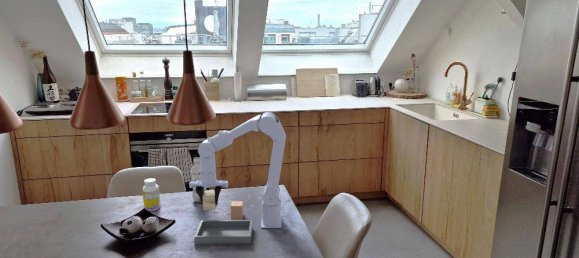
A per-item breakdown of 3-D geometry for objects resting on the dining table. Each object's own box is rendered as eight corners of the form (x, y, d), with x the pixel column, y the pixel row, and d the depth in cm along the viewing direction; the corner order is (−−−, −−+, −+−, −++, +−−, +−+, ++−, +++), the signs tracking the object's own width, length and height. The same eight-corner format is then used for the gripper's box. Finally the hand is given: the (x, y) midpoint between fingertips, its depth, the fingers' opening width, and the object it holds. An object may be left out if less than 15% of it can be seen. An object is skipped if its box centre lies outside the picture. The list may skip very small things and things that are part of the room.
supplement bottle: (148, 204, 176) (146, 176, 173) (163, 205, 176) (160, 177, 173) (141, 211, 170) (138, 182, 167) (156, 212, 169) (154, 183, 166)
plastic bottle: (204, 204, 176) (202, 161, 172) (190, 203, 178) (187, 160, 173) (210, 198, 182) (208, 156, 178) (196, 197, 184) (193, 155, 179)
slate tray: (201, 228, 155) (200, 220, 154) (252, 228, 156) (252, 219, 155) (194, 245, 143) (194, 236, 142) (250, 245, 144) (250, 236, 143)
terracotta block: (232, 214, 167) (232, 201, 166) (243, 214, 167) (243, 201, 166) (231, 219, 163) (230, 206, 161) (242, 219, 163) (242, 205, 161)
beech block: (205, 205, 160) (204, 191, 159) (216, 205, 161) (216, 191, 159) (203, 210, 156) (202, 195, 155) (215, 210, 156) (214, 195, 155)
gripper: (186, 175, 151) (189, 208, 154) (226, 174, 151) (227, 208, 154) (190, 168, 157) (192, 201, 161) (228, 168, 158) (229, 200, 161)
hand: (209, 204), depth 158 cm, fingers closed on beech block, 4 cm apart
